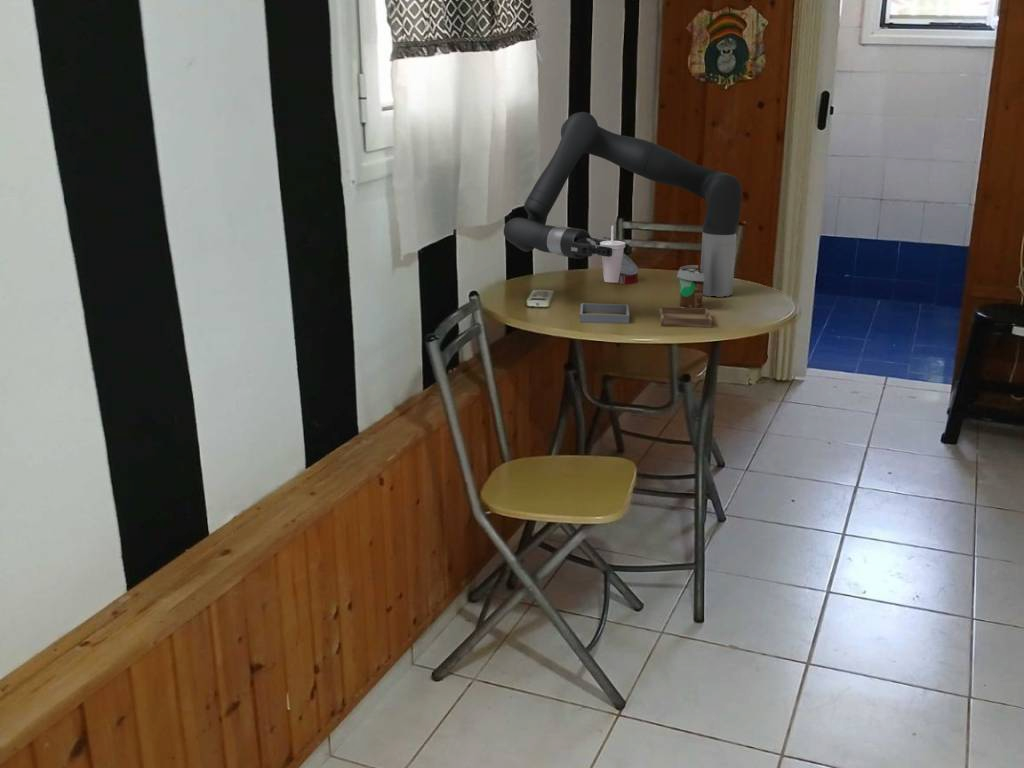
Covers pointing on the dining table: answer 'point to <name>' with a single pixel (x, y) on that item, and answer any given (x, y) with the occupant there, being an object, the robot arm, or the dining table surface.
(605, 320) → the grey square frame
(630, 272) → the canned food
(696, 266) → the food container
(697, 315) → the walnut tray
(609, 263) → the smoothie
